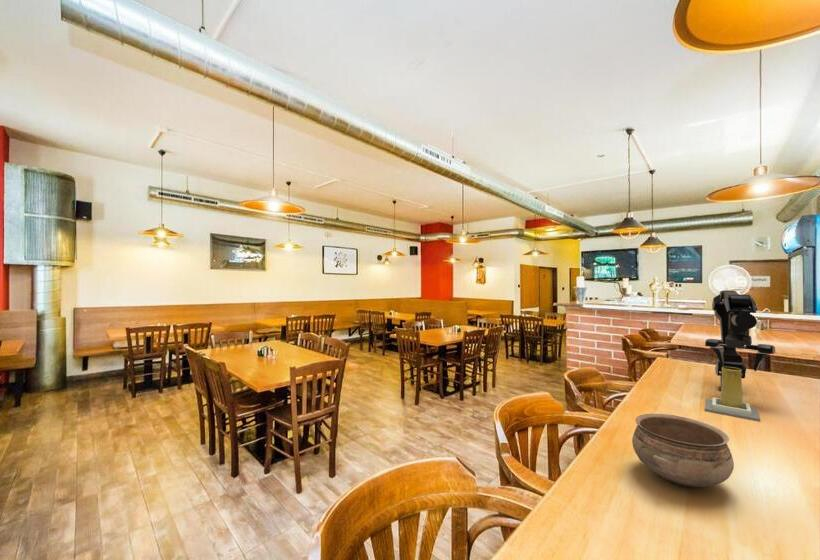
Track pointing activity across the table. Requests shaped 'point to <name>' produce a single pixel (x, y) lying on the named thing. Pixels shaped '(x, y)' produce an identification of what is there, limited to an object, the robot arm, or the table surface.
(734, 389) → the vase
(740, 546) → the table surface
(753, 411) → the vase holder
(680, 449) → the cooking pot
